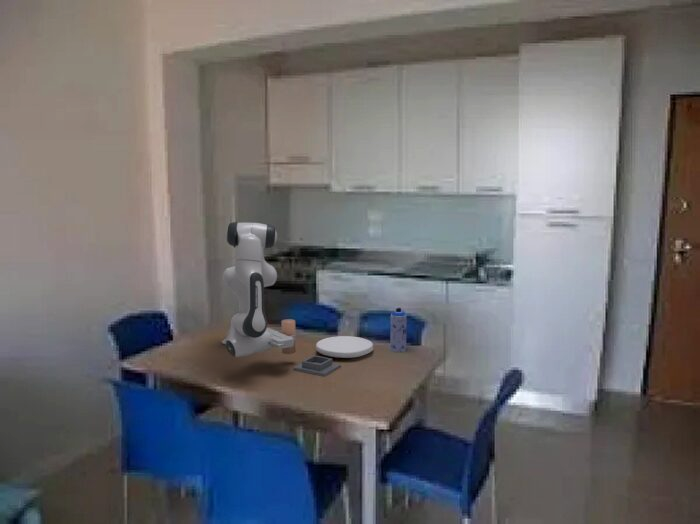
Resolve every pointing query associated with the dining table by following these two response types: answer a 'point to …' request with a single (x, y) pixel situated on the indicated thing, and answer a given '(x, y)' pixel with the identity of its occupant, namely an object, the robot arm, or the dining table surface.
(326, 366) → the grey square tray
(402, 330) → the aerosol can
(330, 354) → the plate
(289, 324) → the salmon pink cylinder
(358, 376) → the dining table surface
